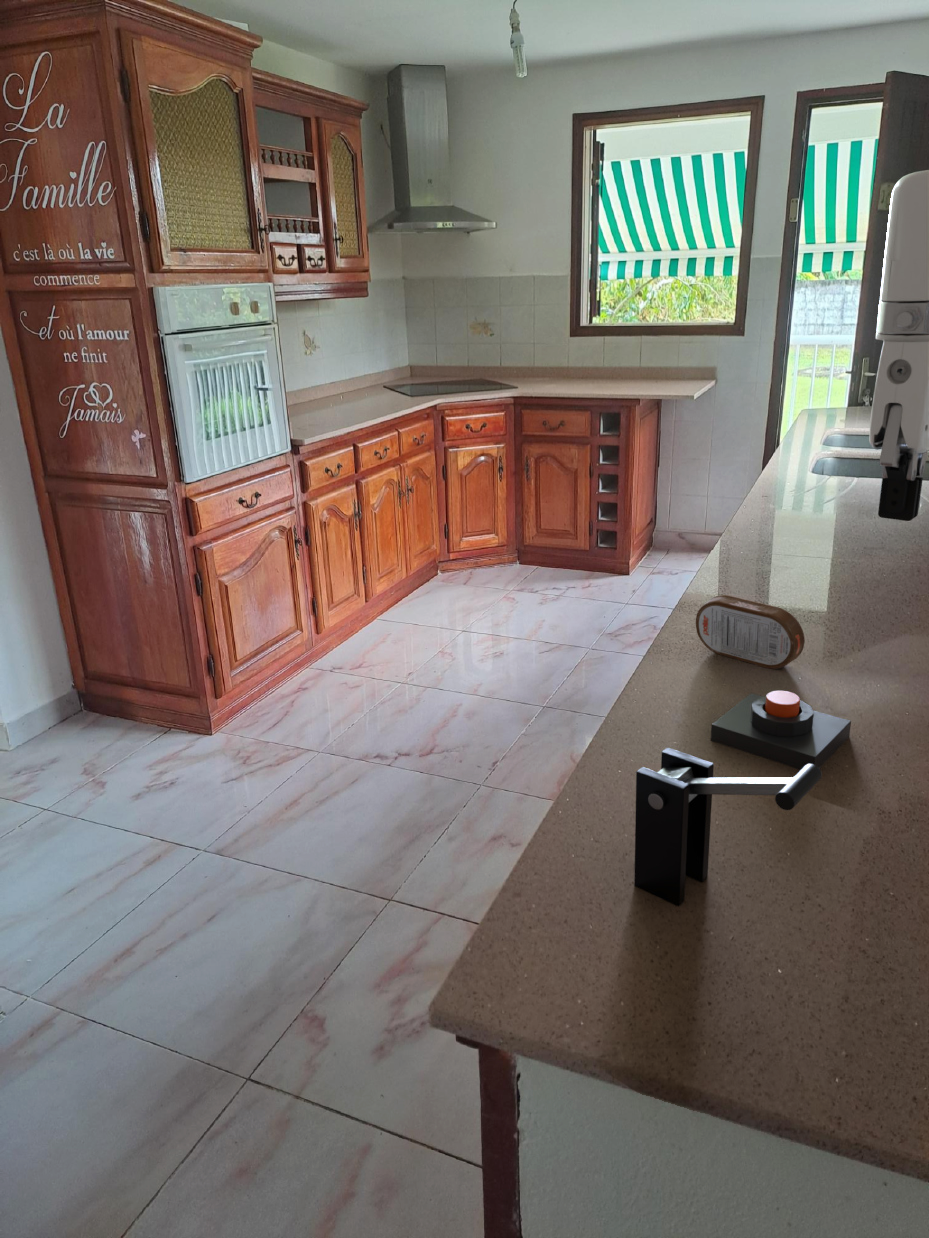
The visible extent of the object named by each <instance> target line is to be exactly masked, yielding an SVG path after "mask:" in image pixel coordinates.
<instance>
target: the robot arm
mask: <svg viewBox="0 0 929 1238" xmlns="http://www.w3.org/2000/svg"><path fill="white" fill-rule="evenodd" d="M889 203H890V205H889V214H888V222H887V230H886V231H887V232H886V240H885V248H884V258H883V265H882V266H883V267H882V277H881V286H880V294H879V295H880V296H879V304H878V312H877V313H878V314H877V322H876V331H875V332H876V333H875V340H878V341H883V343H882V347H881V352H880V357H879V362H878V368H877V373H876V378H875V384H874V390H873V398H872V405H871V412H870V422H869V423H870V424H869V434H868V436H869V444H870V446H871V447H872V448H873V449H874V450H877V451H878V450H881V451H880V456H879V463H878V464H879V466H881V467H882V470H881V477H882V478H881V486H880V493H879V494H880V495H879V503H878V513H877V516H878V517H879V518H881V519H888V520H896V521H903V522H910V521H912V520H914V519H915V518H917V517H918V515H919V510H920V509H919V508H920V501H921V493H922V486H923V479H924V478H923V475H924V472H925V469H926V468H925V467H926V462H927V457H928V451H929V169H926V170H919V171H914V172H912V173H908V174H906V175H903V176H902V177H901V178H900V179H898V180H897V182H896V183H895V185H894V186H893V189H892V191H891V198H890V202H889Z"/></svg>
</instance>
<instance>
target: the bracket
mask: <svg viewBox="0 0 929 1238" xmlns="http://www.w3.org/2000/svg"><path fill="white" fill-rule="evenodd" d="M660 760H661V763H660V770H661V769H662V768H674V767H691V769H692V772H693V775H694V778H714V767H715V763H714V762H711V761H708V760H705V759H702V758H700V757H696V756H693V755H691V754H688V753H685V752H682V751H679V750H676V749H674V748H670V747H666V748H665V749H663V750H662V751H661V757H660ZM657 772H658V771H654V770H652V769H650V768H646V767H644V766H642V767H640V768H639V769H638V770H637V771H636V772H635V773H636V774H635V818H634V819H635V820H634V823H635V827H634V829H635V831H634V833H635V834H634V875H633V876H634V879H633V880H634V883H633V885H634V887H636V888H638V889H640V890H642V891H644V892H646V893H648V894H651V895H653V896H655V897H657V898H659V899H661V900H663V901H666V902H668V903H670V904H672V905H674V906H675V907H680V906H681V905H682V904H683V903H684V902H685V894H686V893H685V892H686V877H688V878H690V879H693V880H695V881H696V882H700V883H701V884H703V882H704V881H706V880H707V879H708V877H709V860H710V859H709V856H710V839H711V823H712V822H711V820H712V803H713V802H712V801H713V794H698V795H697V796H696V797H695V798H693V799H692V800H691V801H690V802H689V784H687V783H685V782H682V781H679V780H676V779H674V778H671V777H668V776H666V775H663V774H660V773H657Z"/></svg>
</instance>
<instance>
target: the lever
mask: <svg viewBox="0 0 929 1238" xmlns="http://www.w3.org/2000/svg"><path fill="white" fill-rule="evenodd" d="M656 772H657V773H660V774H663V775H666V776H668V777H671V778H674V779H676V780H679V781H682V782H685V783H687V784H689V802H690V801H691V800H692V799H693V798H695V797H696V796H697V795H698V794H712V795H719V796H720V795H724V796H725V795H726V796H727V795H728V796H775V797H774V801H775V803H776V805H777V806H778V808H780V809H781V810H784V811H791V810H793V809H794V808H795V807H796V806H797V804H798V803H799V802H801V800H803V799H804V797H805V796H806V795H807V794H808V793H809V792H810V791H811V789H812V788H814V786H815V785H816V784H817V783H818V782H819V781H821V779H822V776H823V773H822V770H821V768H818V767H817V766H816V765H813V764H807V765H805V766H804V767H803V768H802V769H801V770H799V771H798V772H797V773H796V774H794V776H793V777H713V778H694V775H693V772H692V769H691V767H674V768H662V769H661V768H660V769H659V770H658V771H656Z"/></svg>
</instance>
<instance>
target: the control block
mask: <svg viewBox="0 0 929 1238" xmlns="http://www.w3.org/2000/svg"><path fill="white" fill-rule="evenodd" d="M765 706H766V696H763V695H760V694H757V693H754V692H751V693H749V694H748V695H747V696H746V697H744V698H743V699H742V700H740V701H739V702H738V703H737V704H736V705H734V706H733V707H732V708H730V709H729V710H728V711H727V712H725V713H724V714H723V715H722V716H720V717H719V718H718V719H716V720H715V721H714V722H713V723H712V724H711V728H710V741H711V742H714V743H716V744H720V745H723V746H727V747H729V748H732V749H735V750H739V751H741V752H745V753H748V754H751V755H754V756H757V757H759V758H763V759H766V760H769V761H772V762H775V763H778V764H781V765H784V766H787V767H791V768H794V769H797V770H799V771H800V770H801V769H802V768H803V767H804V766H805V765H807V764H813V765H816V766H817V767H818V768H819V769H821V767H822V766H823V765H824V764H825V763H826V762H828V760H829V759H830V758H831V757H832V756H833V755H834V754H835V753H836V752H837V751H838V749H839V748H840V747H841V746H843V745H844V743H845V742H846V741H847V740H848V739H849V738H850V734H851V727H852V726H851V725H852V720H849V719H845V718H842V717H838V716H835V715H832V714H827V713H824V712H821V711H816V710H814V709H813V707H812V706H811V705H809V704H808V703H806V702H805V701H803V700H801V699H800V707H799V714H798V715H797V716H794V717H790V718H786V717H777V716H774V715H770V714H768V713H767V712H766V710H765Z"/></svg>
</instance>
